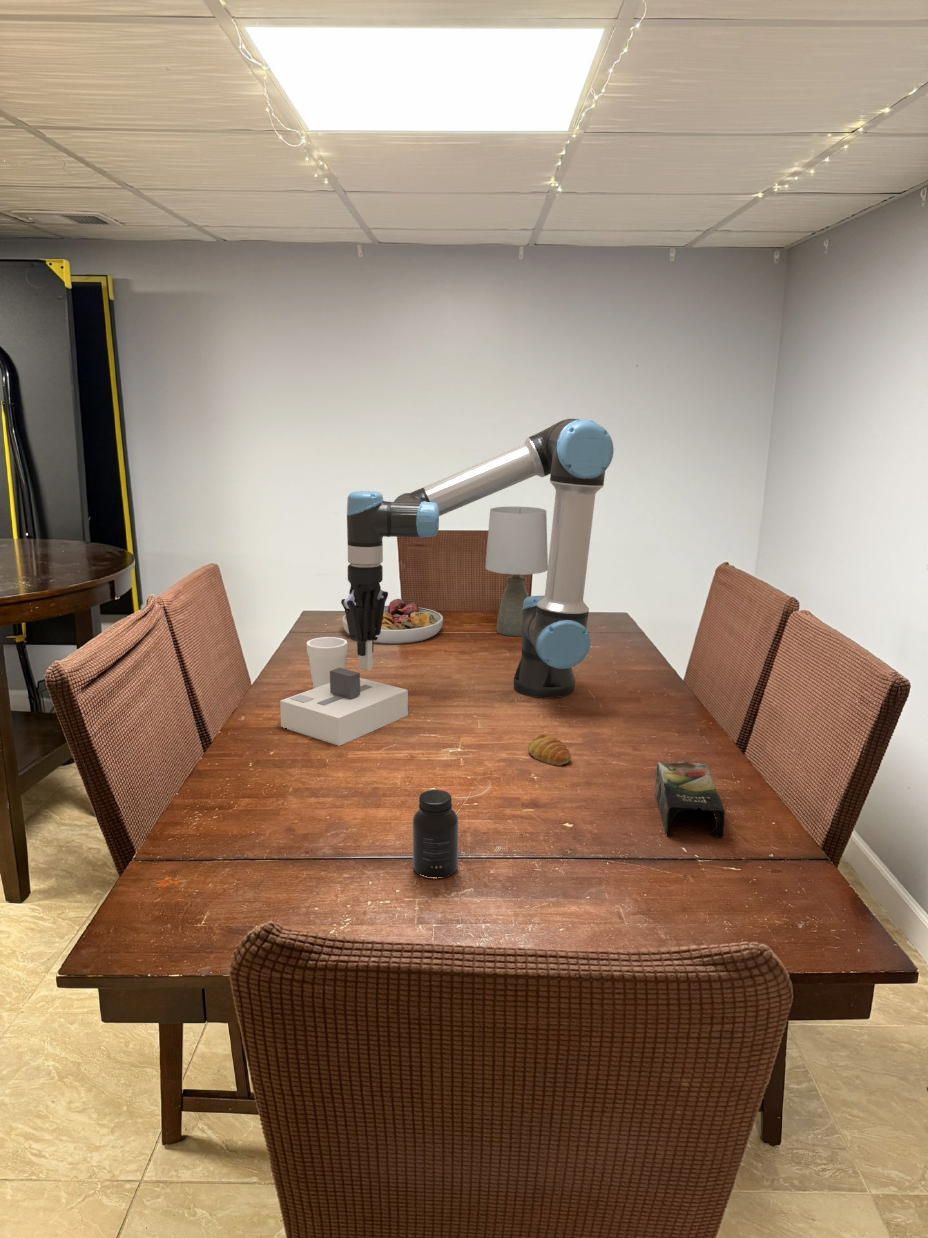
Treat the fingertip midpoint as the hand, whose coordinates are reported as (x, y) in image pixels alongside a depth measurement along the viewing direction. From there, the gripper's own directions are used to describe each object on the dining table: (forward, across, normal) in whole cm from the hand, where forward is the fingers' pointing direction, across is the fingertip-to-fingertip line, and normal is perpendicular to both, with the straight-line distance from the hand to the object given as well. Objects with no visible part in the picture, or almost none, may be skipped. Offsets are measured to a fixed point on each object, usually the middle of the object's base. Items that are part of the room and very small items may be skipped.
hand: (365, 668), depth 195 cm
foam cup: (+11, -3, -15) cm, 18 cm away
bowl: (+11, -56, -39) cm, 69 cm away
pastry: (+10, -4, +45) cm, 47 cm away
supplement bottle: (+11, +44, +53) cm, 70 cm away
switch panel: (+10, +7, 0) cm, 12 cm away
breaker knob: (+4, +7, 0) cm, 8 cm away
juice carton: (+10, +2, +77) cm, 77 cm away
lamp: (+10, -79, -11) cm, 81 cm away
